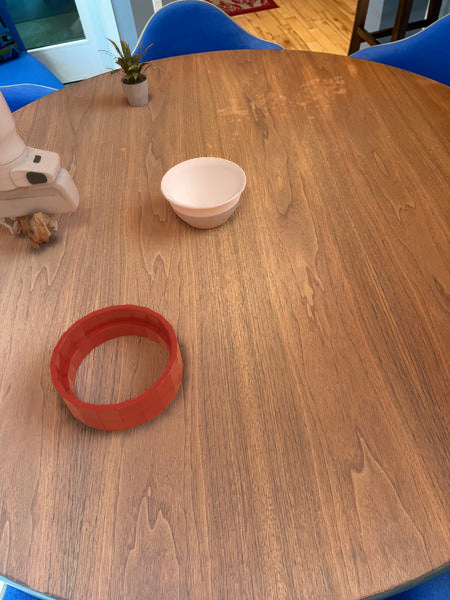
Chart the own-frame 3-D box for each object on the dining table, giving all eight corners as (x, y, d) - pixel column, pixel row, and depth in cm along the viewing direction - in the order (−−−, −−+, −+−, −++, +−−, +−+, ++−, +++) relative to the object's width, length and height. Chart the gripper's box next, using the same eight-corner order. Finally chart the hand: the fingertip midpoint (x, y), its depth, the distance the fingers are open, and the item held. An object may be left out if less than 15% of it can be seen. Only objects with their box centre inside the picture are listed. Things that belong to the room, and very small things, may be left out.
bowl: (208, 256, 87) (203, 219, 81) (150, 221, 95) (142, 185, 88) (264, 212, 94) (264, 175, 88) (206, 183, 102) (202, 147, 96)
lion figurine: (71, 249, 91) (55, 212, 84) (46, 264, 89) (28, 227, 82) (31, 217, 98) (13, 180, 91) (8, 231, 96) (-12, 194, 89)
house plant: (96, 107, 128) (78, 42, 116) (131, 85, 135) (118, 22, 123) (136, 120, 122) (121, 53, 110) (170, 96, 129) (160, 31, 117)
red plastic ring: (54, 437, 66) (37, 414, 61) (75, 334, 77) (62, 308, 72) (182, 428, 65) (175, 405, 60) (184, 326, 77) (178, 300, 72)
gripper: (-61, 184, 79) (-23, 245, 90) (61, 173, 79) (85, 236, 89) (-49, 162, 84) (-14, 224, 94) (67, 152, 83) (89, 215, 93)
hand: (35, 230), depth 92 cm, fingers closed on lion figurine, 6 cm apart
